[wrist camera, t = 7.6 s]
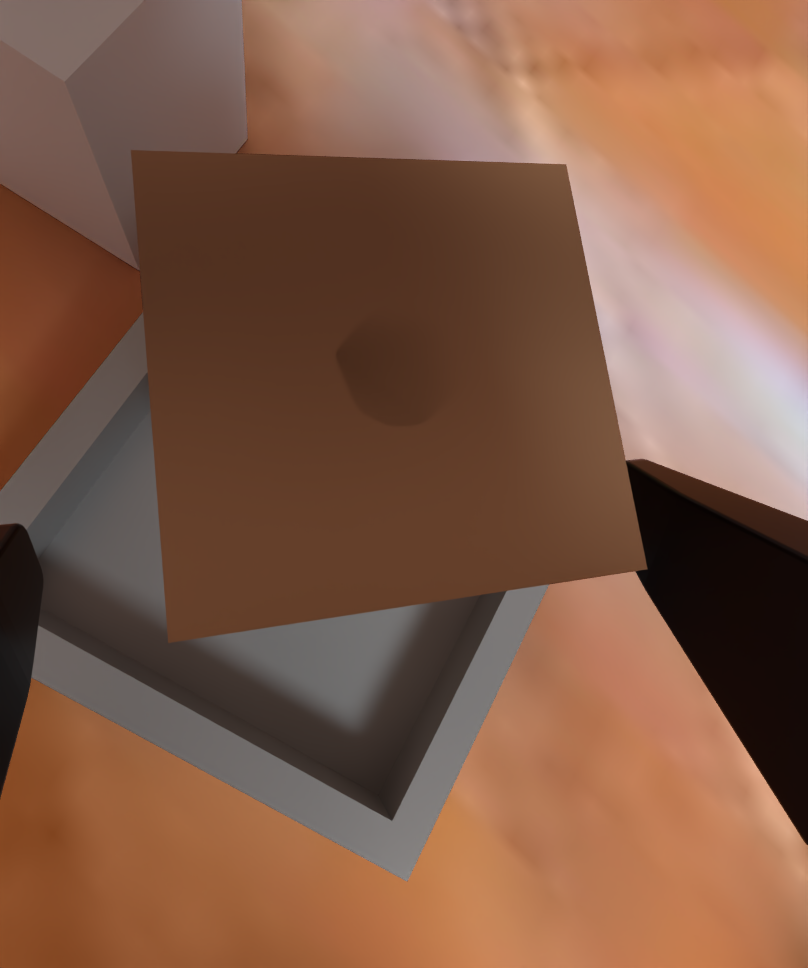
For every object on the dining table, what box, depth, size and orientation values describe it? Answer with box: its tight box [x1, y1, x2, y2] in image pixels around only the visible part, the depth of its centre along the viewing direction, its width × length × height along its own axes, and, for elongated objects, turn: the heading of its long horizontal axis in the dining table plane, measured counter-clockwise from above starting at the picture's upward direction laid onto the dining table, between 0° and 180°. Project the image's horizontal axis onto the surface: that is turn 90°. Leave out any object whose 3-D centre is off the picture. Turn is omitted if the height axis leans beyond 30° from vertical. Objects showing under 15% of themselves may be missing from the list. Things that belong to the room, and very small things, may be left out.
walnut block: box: [131, 150, 647, 643], centre depth 11 cm, size 4×4×12 cm
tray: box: [0, 313, 549, 881], centre depth 17 cm, size 13×13×3 cm
